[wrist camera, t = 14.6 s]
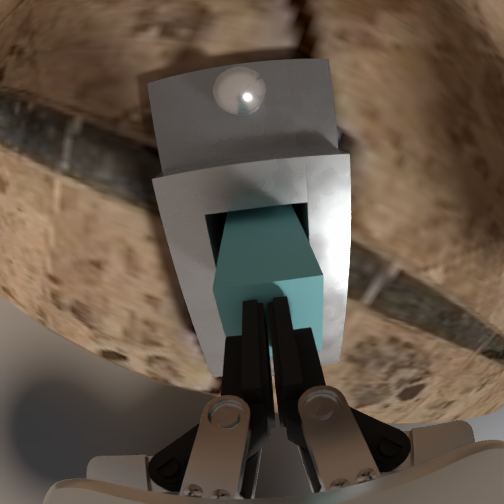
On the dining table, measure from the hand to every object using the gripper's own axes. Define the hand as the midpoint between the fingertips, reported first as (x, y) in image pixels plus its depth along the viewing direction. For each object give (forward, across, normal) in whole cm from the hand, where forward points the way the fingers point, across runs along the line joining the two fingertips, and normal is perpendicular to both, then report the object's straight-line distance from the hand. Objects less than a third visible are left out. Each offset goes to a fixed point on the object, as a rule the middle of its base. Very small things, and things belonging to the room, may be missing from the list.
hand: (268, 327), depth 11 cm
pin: (+10, 0, 0) cm, 10 cm away
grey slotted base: (+10, 0, 0) cm, 10 cm away
